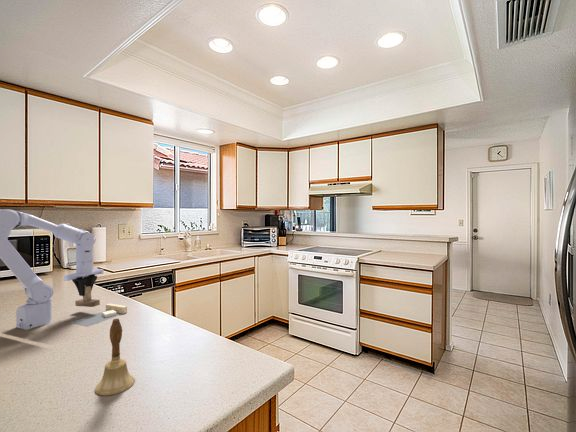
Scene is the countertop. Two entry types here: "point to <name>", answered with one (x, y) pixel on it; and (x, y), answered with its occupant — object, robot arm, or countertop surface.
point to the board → (98, 317)
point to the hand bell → (115, 367)
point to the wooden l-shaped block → (87, 299)
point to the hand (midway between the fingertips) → (85, 294)
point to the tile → (109, 313)
